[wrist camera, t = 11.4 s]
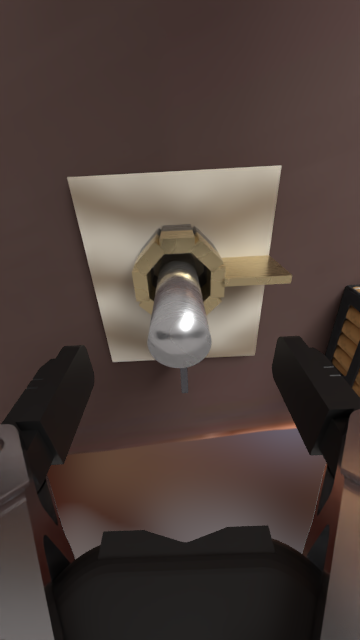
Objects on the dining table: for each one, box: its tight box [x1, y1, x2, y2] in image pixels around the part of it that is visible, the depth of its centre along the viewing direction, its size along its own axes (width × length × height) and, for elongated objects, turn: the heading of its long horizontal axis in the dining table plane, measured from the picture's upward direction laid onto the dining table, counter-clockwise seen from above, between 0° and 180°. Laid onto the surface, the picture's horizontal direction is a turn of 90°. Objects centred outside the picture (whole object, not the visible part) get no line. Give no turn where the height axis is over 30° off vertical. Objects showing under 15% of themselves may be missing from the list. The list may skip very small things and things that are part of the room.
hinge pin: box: [147, 253, 212, 368], centre depth 16 cm, size 3×3×12 cm
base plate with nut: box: [67, 165, 292, 393], centre depth 21 cm, size 18×16×6 cm
